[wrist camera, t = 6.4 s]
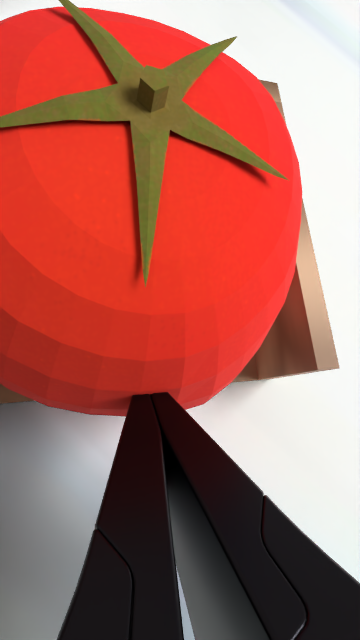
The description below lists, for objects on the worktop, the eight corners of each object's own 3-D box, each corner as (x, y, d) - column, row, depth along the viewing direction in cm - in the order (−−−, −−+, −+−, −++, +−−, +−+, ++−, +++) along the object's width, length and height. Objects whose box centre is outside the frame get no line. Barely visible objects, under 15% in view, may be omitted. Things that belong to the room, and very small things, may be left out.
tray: (271, 378, 17) (339, 368, 12) (-80, 410, 13) (-182, 413, 8) (235, 157, 20) (277, 83, 16) (-52, 123, 16) (-112, 6, 11)
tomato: (216, 197, 19) (351, -33, 9) (228, 409, 16) (460, 416, 6) (8, 165, 16) (-131, -224, 6) (-28, 416, 13) (-448, 451, 3)
